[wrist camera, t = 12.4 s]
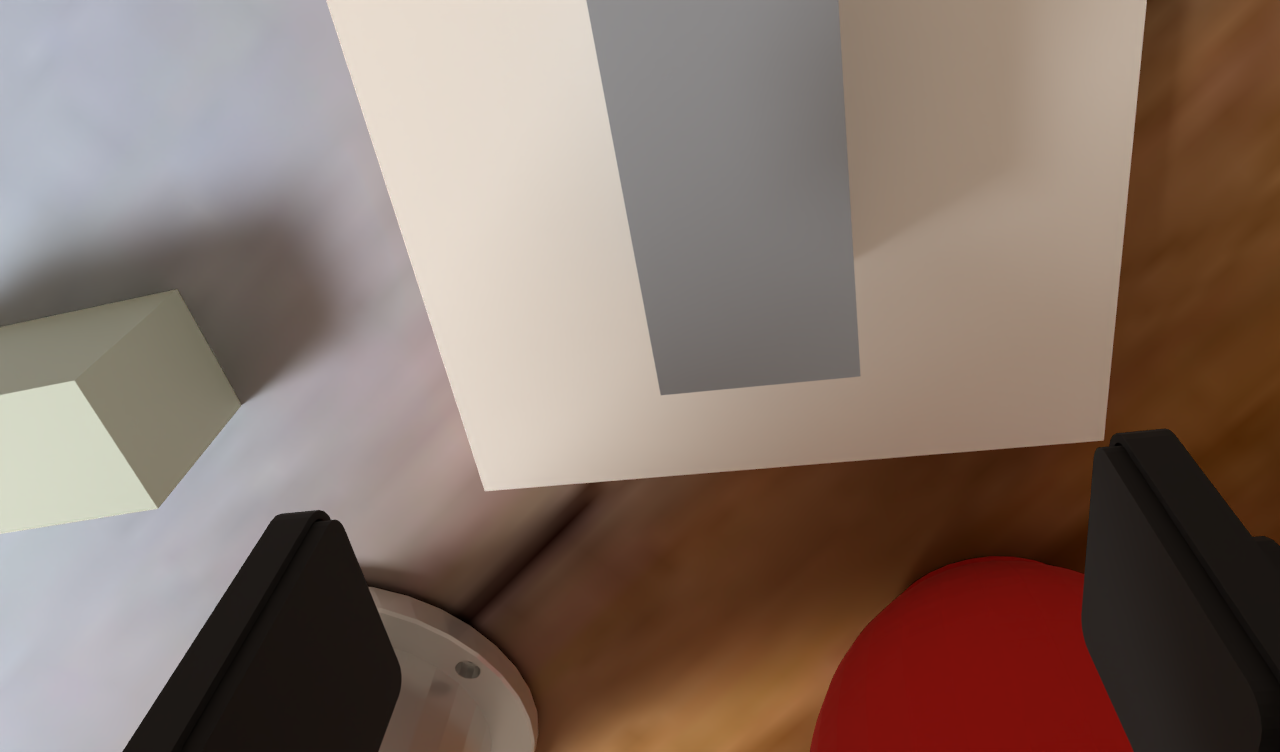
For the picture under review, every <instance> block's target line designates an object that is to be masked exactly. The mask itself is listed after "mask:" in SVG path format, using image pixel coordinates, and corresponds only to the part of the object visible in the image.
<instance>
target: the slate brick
mask: <svg viewBox="0 0 1280 752" xmlns="http://www.w3.org/2000/svg"><path fill="white" fill-rule="evenodd" d="M586 1H587V7H588V12H589V17H590V22H591V28H592V33H593V38H594V44H595V49H596V54H597V60H598V65H599V70H600V76H601V81H602V86H603V91H604V97H605V102H606V107H607V113H608V118H609V123H610V129H611V134H612V139H613V145H614V150H615V155H616V161H617V166H618V171H619V176H620V182H621V187H622V192H623V198H624V203H625V208H626V214H627V219H628V224H629V230H630V235H631V240H632V245H633V251H634V256H635V261H636V267H637V272H638V277H639V283H640V288H641V293H642V299H643V304H644V309H645V314H646V320H647V325H648V330H649V336H650V341H651V346H652V352H653V357H654V362H655V368H656V373H657V378H658V383H659V389H660V394H661V395H670V394H681V393H691V392H702V391H712V390H723V389H733V388H744V387H754V386H765V385H775V384H786V383H796V382H807V381H817V380H828V379H838V378H849V377H859V376H860V359H859V342H858V325H857V308H856V291H855V274H854V257H853V240H852V223H851V206H850V189H849V172H848V155H847V138H846V122H845V105H844V88H843V71H842V54H841V37H840V20H839V3H838V0H586Z"/></svg>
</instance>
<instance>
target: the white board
mask: <svg viewBox="0 0 1280 752" xmlns="http://www.w3.org/2000/svg"><path fill="white" fill-rule="evenodd" d="M326 1H327V4H328V7H329V10H330V13H331V16H332V20H333V23H334V26H335V29H336V32H337V35H338V38H339V41H340V44H341V47H342V51H343V54H344V57H345V60H346V63H347V66H348V69H349V72H350V75H351V78H352V81H353V85H354V88H355V91H356V94H357V97H358V100H359V103H360V106H361V109H362V112H363V116H364V119H365V122H366V125H367V128H368V131H369V134H370V137H371V140H372V143H373V146H374V150H375V153H376V156H377V159H378V162H379V165H380V168H381V171H382V174H383V177H384V181H385V184H386V187H387V190H388V193H389V196H390V199H391V202H392V205H393V208H394V211H395V215H396V218H397V221H398V224H399V227H400V230H401V233H402V236H403V239H404V242H405V246H406V249H407V252H408V255H409V258H410V261H411V264H412V267H413V270H414V273H415V276H416V280H417V283H418V286H419V289H420V292H421V295H422V298H423V301H424V304H425V307H426V311H427V314H428V317H429V320H430V323H431V326H432V329H433V332H434V335H435V338H436V341H437V345H438V348H439V351H440V354H441V357H442V360H443V363H444V366H445V369H446V372H447V376H448V379H449V382H450V385H451V388H452V391H453V394H454V397H455V400H456V403H457V406H458V410H459V413H460V416H461V419H462V422H463V425H464V428H465V431H466V434H467V437H468V440H469V444H470V447H471V450H472V453H473V456H474V459H475V462H476V465H477V468H478V471H479V475H480V478H481V481H482V484H483V487H484V490H485V491H494V490H506V489H519V488H531V487H543V486H555V485H567V484H580V483H592V482H604V481H616V480H628V479H640V478H653V477H665V476H677V475H689V474H701V473H714V472H726V471H738V470H750V469H762V468H775V467H787V466H799V465H811V464H823V463H836V462H848V461H860V460H872V459H884V458H897V457H909V456H921V455H933V454H945V453H957V452H970V451H982V450H994V449H1006V448H1018V447H1031V446H1043V445H1055V444H1067V443H1079V442H1092V441H1104V433H1105V423H1106V413H1107V402H1108V392H1109V382H1110V372H1111V362H1112V351H1113V341H1114V331H1115V321H1116V310H1117V300H1118V290H1119V280H1120V270H1121V259H1122V249H1123V239H1124V229H1125V218H1126V208H1127V198H1128V188H1129V178H1130V167H1131V157H1132V147H1133V137H1134V126H1135V116H1136V106H1137V96H1138V86H1139V75H1140V65H1141V55H1142V45H1143V34H1144V24H1145V14H1146V4H1147V0H838V3H839V20H840V37H841V54H842V71H843V88H844V105H845V122H846V138H847V155H848V172H849V189H850V206H851V223H852V240H853V257H854V274H855V291H856V308H857V325H858V342H859V359H860V376H859V377H849V378H838V379H828V380H817V381H807V382H796V383H786V384H775V385H765V386H754V387H744V388H733V389H723V390H712V391H702V392H691V393H681V394H670V395H661V394H660V389H659V383H658V378H657V373H656V368H655V362H654V357H653V352H652V346H651V341H650V336H649V330H648V325H647V320H646V314H645V309H644V304H643V299H642V293H641V288H640V283H639V277H638V272H637V267H636V261H635V256H634V251H633V245H632V240H631V235H630V230H629V224H628V219H627V214H626V208H625V203H624V198H623V192H622V187H621V182H620V176H619V171H618V166H617V161H616V155H615V150H614V145H613V139H612V134H611V129H610V123H609V118H608V113H607V107H606V102H605V97H604V91H603V86H602V81H601V76H600V70H599V65H598V60H597V54H596V49H595V44H594V38H593V33H592V28H591V22H590V17H589V12H588V7H587V1H586V0H326Z"/></svg>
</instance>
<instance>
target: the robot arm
mask: <svg viewBox="0 0 1280 752" xmlns="http://www.w3.org/2000/svg"><path fill="white" fill-rule="evenodd" d="M1081 623H1082V631H1083V636H1084V640H1085V644H1086V646H1087V649H1088V651H1089V654H1090V656H1091V658H1092V660H1093V663H1094V665H1095V667H1096V669H1097V671H1098V674H1099V676H1100V678H1101V680H1102V682H1103V685H1104V687H1105V689H1106V691H1107V694H1108V696H1109V698H1110V700H1111V702H1112V705H1113V707H1114V709H1115V711H1116V713H1117V716H1118V718H1119V720H1120V722H1121V724H1122V727H1123V729H1124V731H1125V733H1126V736H1127V738H1128V740H1129V742H1130V744H1131V747H1132V749H1133V751H1134V752H1280V546H1279V545H1278V544H1277V543H1276V542H1275V541H1274V540H1272V539H1270V538H1267V537H1265V536H1258V537H1252V536H1251V535H1250V533H1249V532H1248V531H1247V529H1246V528H1245V527H1244V525H1243V524H1242V523H1241V521H1240V520H1239V519H1238V518H1237V516H1236V515H1235V514H1234V512H1233V511H1232V510H1231V508H1230V507H1229V506H1228V504H1227V503H1226V502H1225V500H1224V499H1223V498H1222V496H1221V495H1220V494H1219V492H1218V491H1217V490H1216V488H1215V487H1214V486H1213V484H1212V483H1211V482H1210V480H1209V479H1208V478H1207V477H1206V475H1205V474H1204V473H1203V471H1202V470H1201V469H1200V467H1199V466H1198V465H1197V463H1196V462H1195V461H1194V459H1193V458H1192V457H1191V455H1190V454H1189V453H1188V451H1187V450H1186V449H1185V447H1184V446H1183V445H1182V443H1181V442H1180V441H1179V440H1178V438H1177V437H1176V436H1175V434H1174V433H1173V432H1172V431H1170V430H1168V429H1156V430H1146V431H1135V432H1125V433H1116V434H1114V435H1113V436H1112V438H1111V440H1110V445H1109V447H1099V448H1097V449H1096V451H1095V454H1094V461H1093V473H1092V486H1091V499H1090V511H1089V524H1088V537H1087V549H1086V562H1085V575H1084V587H1083V600H1082V613H1081ZM538 733H539V732H538V715H537V709H536V706H535V703H534V700H533V698H532V695H531V692H530V689H529V687H528V686H527V684H526V683H525V681H524V679H523V678H522V676H521V675H520V673H519V671H518V670H517V668H516V667H515V666H514V665H513V663H512V662H511V661H510V660H509V659H508V658H507V657H506V656H505V655H504V654H503V653H502V652H501V651H500V649H499V648H498V647H497V646H496V645H494V644H493V643H492V642H491V641H489V640H488V639H487V638H485V637H484V636H483V635H482V634H480V633H479V632H478V631H476V630H475V629H474V628H473V627H471V626H470V625H468V624H466V623H465V622H463V621H461V620H459V619H458V618H456V617H454V616H452V615H450V614H449V613H447V612H445V611H443V610H442V609H440V608H437V607H435V606H432V605H430V604H427V603H425V602H422V601H419V600H417V599H414V598H412V597H409V596H406V595H402V594H398V593H394V592H390V591H387V590H383V589H379V588H375V587H368V585H367V583H366V581H365V578H364V576H363V573H362V571H361V568H360V566H359V563H358V561H357V558H356V556H355V554H354V551H353V549H352V546H351V544H350V541H349V539H348V536H347V534H346V531H345V529H344V527H343V525H342V524H341V523H340V522H339V521H338V520H331V519H330V517H329V516H328V515H327V514H326V513H325V512H324V511H320V510H316V511H305V512H295V513H285V514H280V515H277V516H275V518H274V519H273V520H272V521H271V522H270V524H269V525H268V527H267V529H266V530H265V532H264V533H263V535H262V536H261V538H260V539H259V541H258V542H257V544H256V546H255V547H254V549H253V550H252V552H251V553H250V555H249V556H248V558H247V560H246V561H245V563H244V564H243V566H242V567H241V569H240V570H239V572H238V573H237V575H236V577H235V578H234V580H233V581H232V583H231V584H230V586H229V587H228V589H227V591H226V592H225V594H224V595H223V597H222V598H221V600H220V601H219V603H218V604H217V606H216V608H215V609H214V611H213V612H212V614H211V615H210V617H209V618H208V620H207V622H206V623H205V625H204V626H203V628H202V629H201V631H200V632H199V634H198V636H197V637H196V639H195V640H194V642H193V643H192V645H191V646H190V648H189V649H188V651H187V653H186V654H185V656H184V657H183V659H182V660H181V662H180V663H179V665H178V667H177V668H176V670H175V671H174V673H173V674H172V676H171V677H170V679H169V680H168V682H167V684H166V685H165V687H164V688H163V690H162V691H161V693H160V694H159V696H158V698H157V699H156V701H155V702H154V704H153V705H152V707H151V708H150V710H149V711H148V713H147V715H146V716H145V718H144V719H143V721H142V722H141V724H140V725H139V727H138V729H137V730H136V732H135V733H134V735H133V736H132V738H131V739H130V741H129V742H128V744H127V746H126V747H125V749H124V750H123V752H535V749H536V744H537V739H538Z"/></svg>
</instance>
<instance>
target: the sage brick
mask: <svg viewBox="0 0 1280 752" xmlns="http://www.w3.org/2000/svg"><path fill="white" fill-rule="evenodd" d="M240 406H241V403H240V401H239V400H238V398H237V396H236V394H235V392H234V391H233V389H232V387H231V385H230V383H229V382H228V380H227V378H226V376H225V374H224V373H223V371H222V369H221V367H220V365H219V364H218V362H217V360H216V358H215V356H214V355H213V353H212V351H211V349H210V347H209V346H208V344H207V342H206V340H205V338H204V337H203V335H202V333H201V331H200V329H199V328H198V326H197V324H196V322H195V320H194V319H193V317H192V315H191V313H190V311H189V310H188V308H187V306H186V304H185V302H184V301H183V299H182V297H181V295H180V293H179V292H178V290H177V289H175V290H171V291H166V292H161V293H157V294H152V295H147V296H143V297H138V298H133V299H128V300H124V301H119V302H114V303H110V304H105V305H100V306H96V307H91V308H86V309H82V310H77V311H72V312H68V313H63V314H58V315H53V316H49V317H44V318H39V319H35V320H30V321H25V322H21V323H16V324H11V325H7V326H2V327H0V534H2V533H9V532H15V531H21V530H28V529H34V528H40V527H46V526H53V525H59V524H65V523H71V522H78V521H84V520H90V519H97V518H103V517H109V516H115V515H122V514H128V513H134V512H140V511H147V510H153V509H158V508H159V507H160V505H161V504H162V503H163V502H164V501H165V499H166V498H167V497H168V496H169V494H170V493H171V492H172V491H173V489H174V488H175V487H176V486H177V484H178V483H179V482H180V481H181V479H182V478H183V477H184V476H185V475H186V473H187V472H188V471H189V470H190V468H191V467H192V466H193V465H194V463H195V462H196V461H197V460H198V458H199V457H200V456H201V455H202V454H203V452H204V451H205V450H206V449H207V447H208V446H209V445H210V444H211V442H212V441H213V440H214V439H215V437H216V436H217V435H218V434H219V432H220V431H221V430H222V429H223V428H224V426H225V425H226V424H227V423H228V421H229V420H230V419H231V418H232V416H233V415H234V414H235V413H236V411H237V410H238V409H239V408H240Z"/></svg>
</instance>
